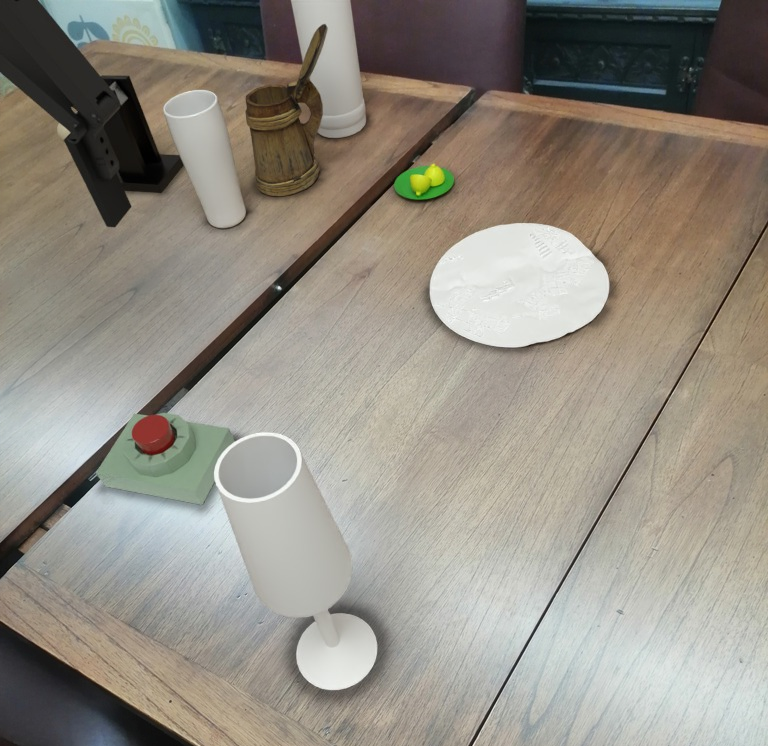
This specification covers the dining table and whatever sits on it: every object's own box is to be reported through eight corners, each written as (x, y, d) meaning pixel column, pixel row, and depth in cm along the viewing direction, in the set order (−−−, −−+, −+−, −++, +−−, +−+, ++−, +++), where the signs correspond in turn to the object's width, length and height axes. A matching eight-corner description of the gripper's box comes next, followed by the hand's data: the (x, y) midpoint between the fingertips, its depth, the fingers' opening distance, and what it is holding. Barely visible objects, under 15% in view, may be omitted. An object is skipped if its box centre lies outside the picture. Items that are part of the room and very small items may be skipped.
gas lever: (66, 152, 102) (48, 132, 100) (77, 140, 104) (60, 120, 102) (121, 110, 94) (103, 88, 92) (132, 99, 95) (114, 76, 93)
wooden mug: (351, 186, 95) (327, 39, 80) (255, 200, 96) (214, 57, 81) (349, 153, 100) (326, 8, 85) (257, 166, 101) (219, 26, 86)
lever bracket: (102, 189, 102) (59, 98, 92) (128, 160, 107) (90, 69, 96) (161, 192, 100) (124, 99, 90) (185, 162, 104) (152, 70, 94)
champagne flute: (387, 674, 54) (334, 495, 35) (305, 701, 54) (204, 535, 34) (365, 602, 58) (305, 404, 39) (288, 627, 58) (188, 439, 38)
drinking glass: (198, 214, 95) (156, 100, 83) (244, 198, 96) (209, 83, 84) (210, 239, 92) (168, 123, 79) (258, 222, 93) (224, 105, 80)
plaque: (486, 215, 87) (486, 204, 86) (638, 261, 79) (641, 250, 78) (396, 315, 79) (395, 305, 78) (555, 377, 71) (556, 367, 70)
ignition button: (132, 452, 66) (124, 440, 65) (149, 424, 68) (142, 412, 67) (164, 457, 65) (157, 445, 64) (181, 429, 67) (175, 417, 66)
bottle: (304, 133, 105) (251, -129, 80) (335, 108, 108) (293, -150, 84) (346, 143, 102) (303, -126, 77) (377, 118, 105) (345, -148, 80)
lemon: (444, 206, 90) (443, 185, 87) (386, 201, 92) (384, 181, 90) (460, 172, 94) (460, 151, 91) (405, 168, 96) (403, 148, 94)
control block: (105, 486, 69) (86, 461, 66) (142, 427, 73) (126, 400, 70) (202, 505, 66) (188, 480, 63) (235, 442, 70) (223, 415, 67)
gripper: (-376, -109, 38) (-108, 233, 56) (-13, -151, 32) (162, 250, 49) (-272, -150, 42) (-52, 182, 60) (69, -194, 36) (205, 191, 53)
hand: (45, 213), depth 55 cm, fingers open, 13 cm apart
